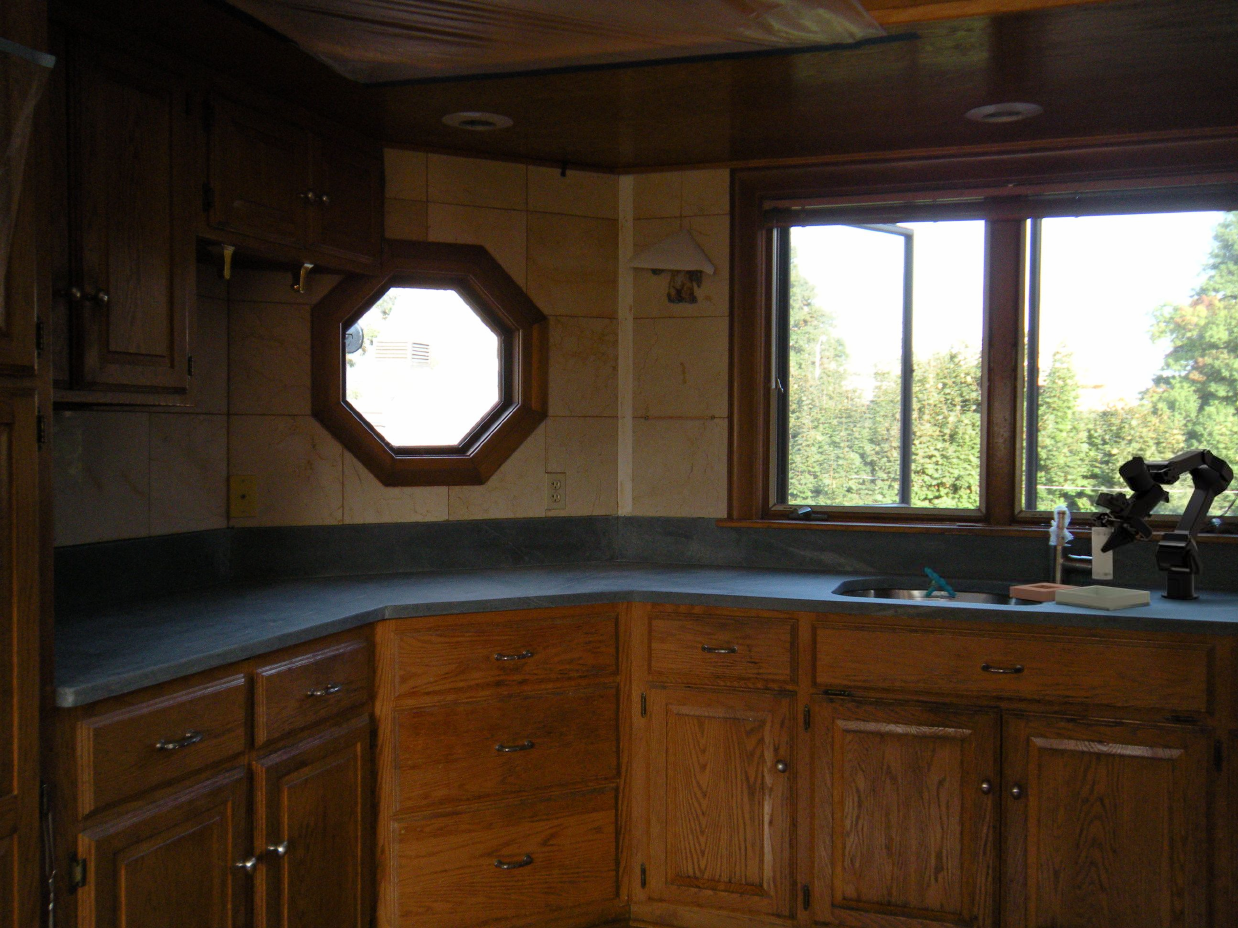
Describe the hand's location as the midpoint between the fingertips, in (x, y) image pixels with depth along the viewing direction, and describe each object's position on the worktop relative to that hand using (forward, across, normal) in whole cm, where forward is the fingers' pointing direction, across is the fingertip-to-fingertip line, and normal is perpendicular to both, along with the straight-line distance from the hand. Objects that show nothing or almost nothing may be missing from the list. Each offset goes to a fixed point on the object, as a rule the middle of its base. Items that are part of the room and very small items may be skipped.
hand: (1096, 550), depth 247 cm
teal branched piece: (+32, -17, -14) cm, 38 cm away
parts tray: (+8, 0, +10) cm, 13 cm away
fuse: (+4, 0, +6) cm, 7 cm away
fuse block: (+14, -13, +4) cm, 19 cm away
